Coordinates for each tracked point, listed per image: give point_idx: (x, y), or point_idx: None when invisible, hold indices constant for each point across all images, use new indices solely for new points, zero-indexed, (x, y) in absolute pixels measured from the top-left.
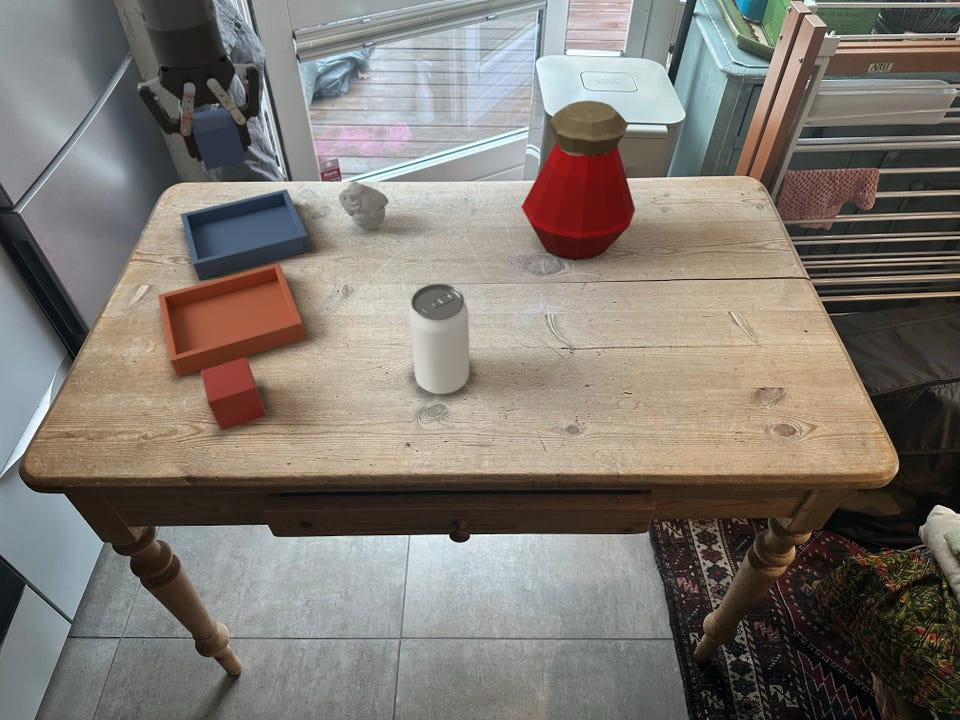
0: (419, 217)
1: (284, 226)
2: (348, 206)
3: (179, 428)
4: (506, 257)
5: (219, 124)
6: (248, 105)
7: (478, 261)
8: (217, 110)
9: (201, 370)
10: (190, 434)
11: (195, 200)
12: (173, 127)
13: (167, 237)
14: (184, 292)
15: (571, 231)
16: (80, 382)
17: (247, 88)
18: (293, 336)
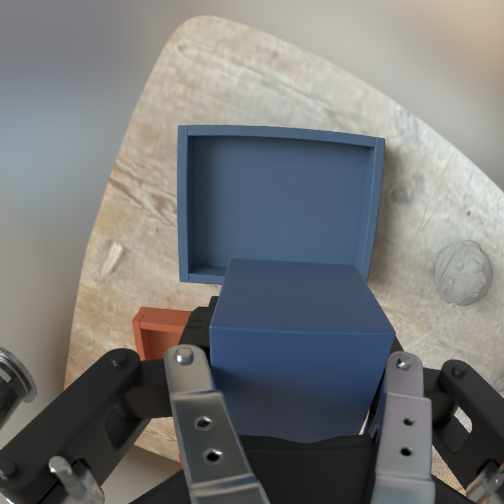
0: (495, 270)
1: (344, 211)
2: (444, 292)
3: (158, 432)
4: (498, 365)
5: (309, 431)
6: (432, 438)
7: (481, 364)
8: (343, 349)
9: (179, 455)
10: (167, 439)
11: (218, 45)
12: (149, 420)
13: (155, 136)
14: (164, 331)
15: None
16: (74, 357)
17: (469, 467)
18: None
